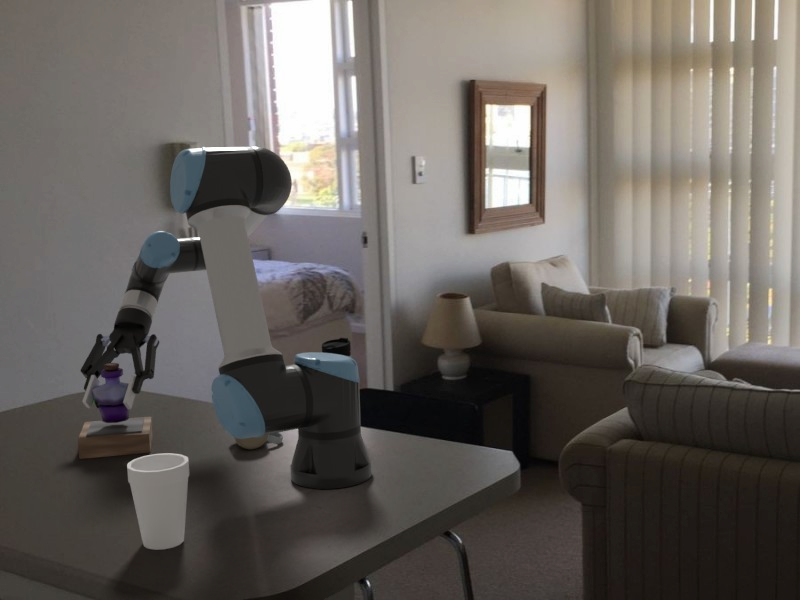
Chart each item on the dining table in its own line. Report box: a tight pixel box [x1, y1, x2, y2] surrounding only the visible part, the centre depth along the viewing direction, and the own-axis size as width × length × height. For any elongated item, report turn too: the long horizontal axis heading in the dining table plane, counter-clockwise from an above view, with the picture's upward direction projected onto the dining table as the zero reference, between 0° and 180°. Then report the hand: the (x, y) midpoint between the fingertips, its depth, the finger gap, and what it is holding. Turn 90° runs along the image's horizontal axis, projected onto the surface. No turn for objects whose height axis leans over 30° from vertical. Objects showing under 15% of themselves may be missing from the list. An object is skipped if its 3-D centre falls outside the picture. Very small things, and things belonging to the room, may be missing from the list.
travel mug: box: [321, 337, 352, 358], centre depth 215 cm, size 6×7×20 cm
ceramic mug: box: [233, 432, 284, 450], centre depth 208 cm, size 11×8×8 cm
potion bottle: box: [92, 362, 131, 423], centre depth 209 cm, size 9×9×12 cm
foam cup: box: [126, 452, 190, 551], centre depth 156 cm, size 10×9×13 cm
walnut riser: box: [77, 416, 154, 460], centre depth 210 cm, size 14×14×4 cm
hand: (106, 405), depth 206 cm, fingers closed on potion bottle, 8 cm apart
